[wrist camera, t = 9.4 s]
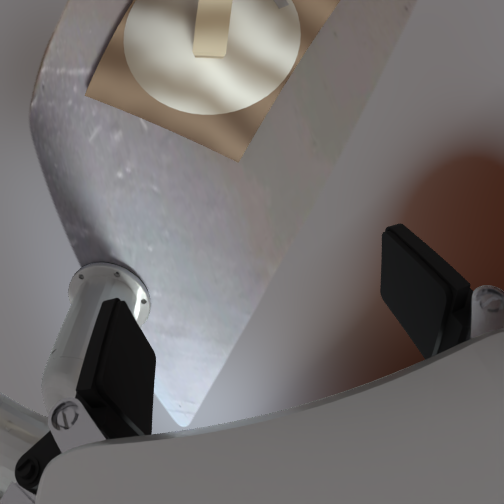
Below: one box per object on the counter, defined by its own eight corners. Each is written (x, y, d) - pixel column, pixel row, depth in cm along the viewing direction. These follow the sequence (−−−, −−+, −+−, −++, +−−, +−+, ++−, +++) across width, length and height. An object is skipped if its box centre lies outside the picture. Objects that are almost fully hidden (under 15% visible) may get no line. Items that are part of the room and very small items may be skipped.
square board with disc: (237, 159, 35) (238, 163, 34) (89, 94, 28) (83, 95, 27) (336, 0, 26) (342, -2, 25) (190, -70, 19) (189, -76, 18)
